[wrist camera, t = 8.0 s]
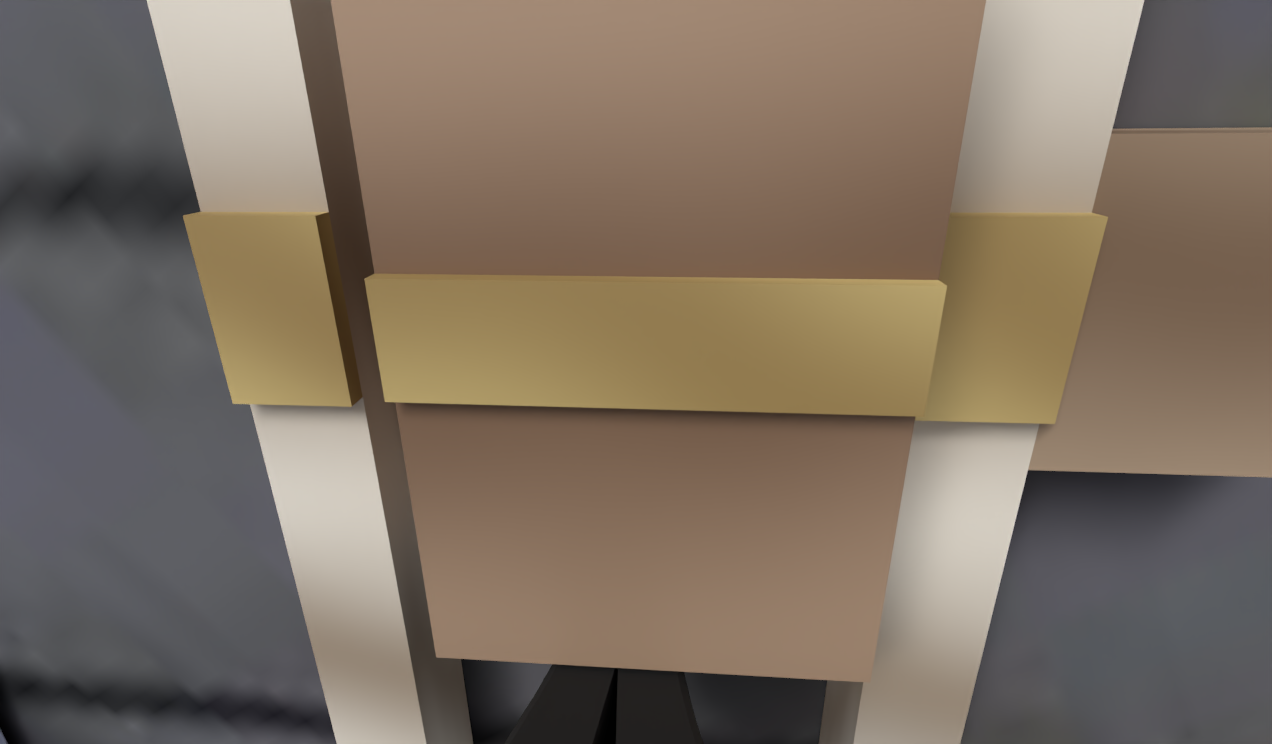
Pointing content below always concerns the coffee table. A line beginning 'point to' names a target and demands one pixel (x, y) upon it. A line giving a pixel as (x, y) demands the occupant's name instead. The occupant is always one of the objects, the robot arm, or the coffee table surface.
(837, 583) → the rider block
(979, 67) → the beam slot
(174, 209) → the coffee table surface
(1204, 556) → the coffee table surface
